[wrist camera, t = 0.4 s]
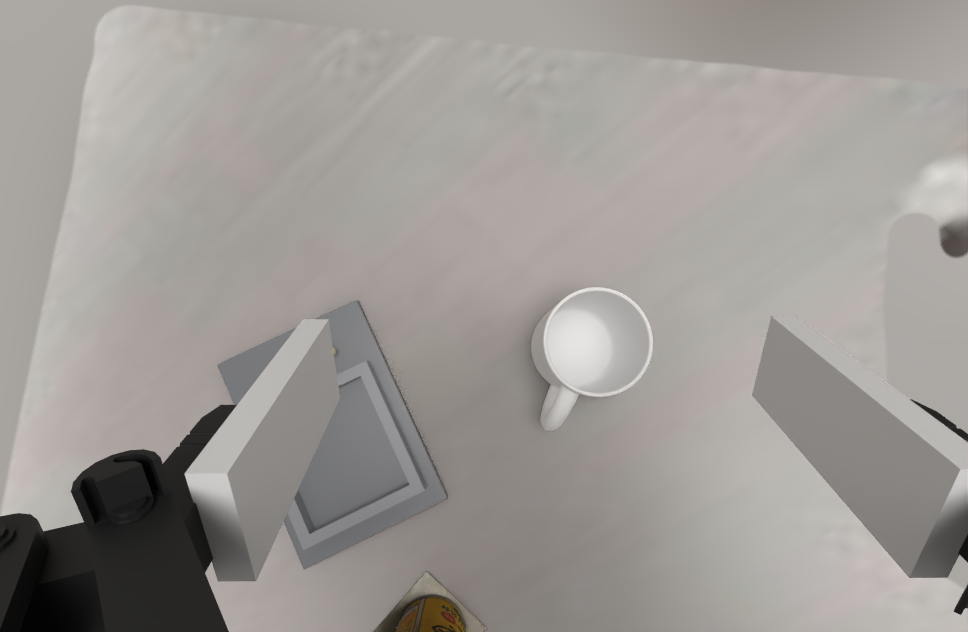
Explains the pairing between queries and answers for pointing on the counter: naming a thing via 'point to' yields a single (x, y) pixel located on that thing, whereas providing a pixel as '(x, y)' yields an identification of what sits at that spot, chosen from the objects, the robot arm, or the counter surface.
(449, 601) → the condiment
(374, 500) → the dock
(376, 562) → the counter surface
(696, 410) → the counter surface
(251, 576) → the robot arm
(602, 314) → the mug
